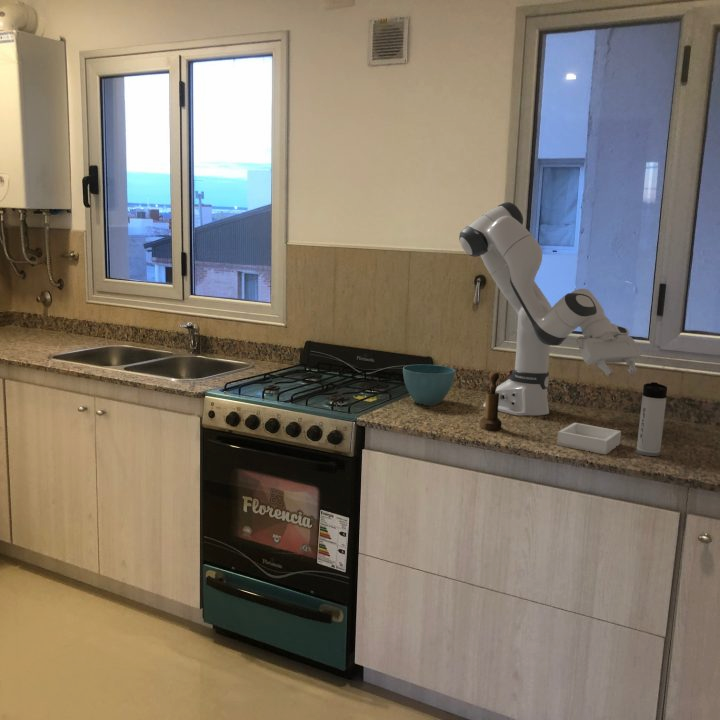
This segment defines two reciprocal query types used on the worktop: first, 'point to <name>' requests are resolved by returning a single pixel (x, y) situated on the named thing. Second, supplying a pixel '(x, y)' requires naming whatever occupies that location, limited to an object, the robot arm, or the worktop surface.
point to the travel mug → (651, 419)
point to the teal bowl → (428, 382)
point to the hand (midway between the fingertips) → (622, 373)
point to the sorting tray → (589, 438)
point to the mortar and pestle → (491, 406)
